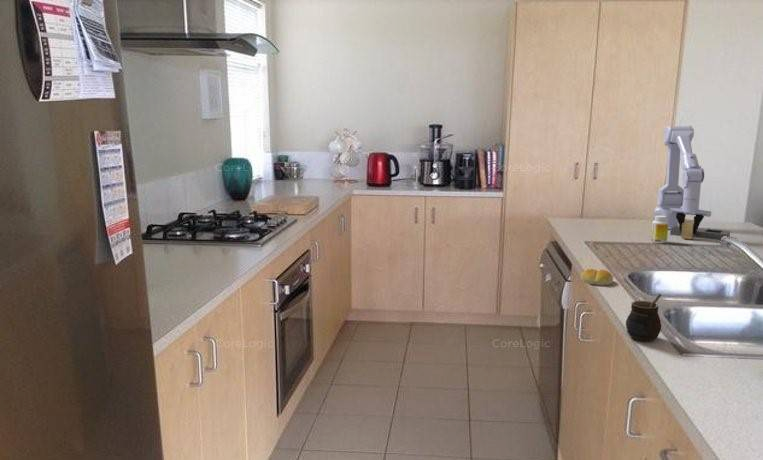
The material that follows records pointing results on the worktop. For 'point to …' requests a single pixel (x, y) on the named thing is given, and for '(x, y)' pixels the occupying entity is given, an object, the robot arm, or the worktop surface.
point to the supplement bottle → (659, 230)
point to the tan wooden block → (687, 230)
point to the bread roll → (597, 277)
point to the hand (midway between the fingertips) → (688, 232)
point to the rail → (703, 233)
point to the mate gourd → (644, 320)
